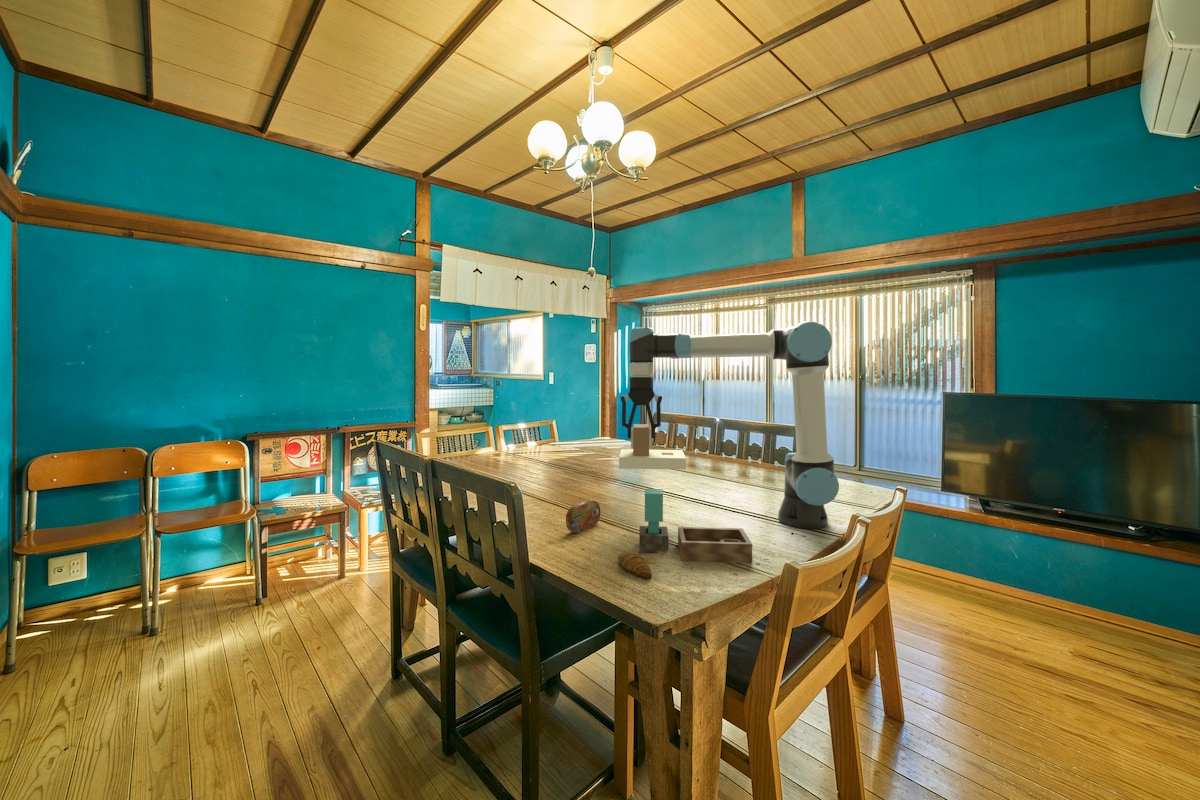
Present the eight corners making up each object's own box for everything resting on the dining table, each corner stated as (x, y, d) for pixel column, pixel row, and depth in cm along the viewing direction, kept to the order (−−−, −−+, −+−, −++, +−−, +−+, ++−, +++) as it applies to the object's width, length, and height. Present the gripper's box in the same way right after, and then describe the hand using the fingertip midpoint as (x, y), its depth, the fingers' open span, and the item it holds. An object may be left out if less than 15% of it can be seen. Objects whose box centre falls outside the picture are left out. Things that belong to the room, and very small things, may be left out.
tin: (571, 536, 146) (571, 509, 146) (564, 534, 148) (563, 507, 148) (601, 523, 158) (601, 498, 158) (593, 521, 160) (593, 496, 160)
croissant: (608, 564, 126) (608, 546, 125) (630, 559, 129) (630, 541, 129) (637, 585, 114) (637, 564, 114) (660, 578, 117) (660, 559, 117)
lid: (682, 460, 161) (682, 423, 160) (686, 469, 147) (686, 429, 146) (621, 459, 163) (621, 423, 162) (619, 468, 149) (619, 428, 148)
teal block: (661, 541, 139) (662, 489, 138) (662, 548, 134) (662, 493, 133) (644, 541, 139) (644, 488, 138) (644, 547, 134) (644, 493, 133)
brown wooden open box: (742, 549, 135) (742, 528, 135) (751, 566, 123) (752, 544, 123) (677, 547, 137) (678, 526, 136) (681, 564, 125) (681, 542, 125)
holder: (666, 543, 140) (666, 526, 140) (668, 553, 132) (668, 536, 132) (639, 542, 141) (639, 525, 140) (639, 553, 133) (639, 535, 132)
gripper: (669, 376, 156) (668, 446, 158) (613, 376, 158) (613, 446, 159) (670, 376, 149) (669, 450, 150) (612, 376, 150) (612, 449, 152)
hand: (641, 448), depth 155 cm, fingers closed on lid, 5 cm apart
